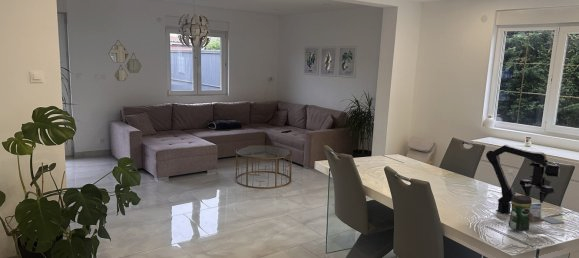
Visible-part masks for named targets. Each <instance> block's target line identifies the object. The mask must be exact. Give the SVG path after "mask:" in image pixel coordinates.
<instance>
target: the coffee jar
mask: <svg viewBox="0 0 579 258" xmlns="http://www.w3.org/2000/svg"><path fill="white" fill-rule="evenodd" d="M510 203H511V208H510V212H511V214H510V215H509V221H508V227H509V228H510V229H511V230H515V231H518V232H519V231H520V232H521V231H529V229H530V221H529V212H530V207H531V204H532V203H533V201H532V197H531V196H526V194H525V195H524V194H523V195H522V194H520V195H516V194H515V195H513V196H512V199H511V202H510Z"/></svg>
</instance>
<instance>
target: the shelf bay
mask: <svg viewBox="0 0 579 258" xmlns="http://www.w3.org/2000/svg"><path fill="white" fill-rule="evenodd" d="M532 215H533V214H532V213H529V223H530V222H539V221H541V222H542V221H543V218H544V217H541V218H533V219H532ZM543 222H544V221H543Z"/></svg>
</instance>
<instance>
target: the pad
mask: <svg viewBox="0 0 579 258" xmlns="http://www.w3.org/2000/svg"><path fill="white" fill-rule="evenodd" d="M542 218H543V222H547V223H549V224H551V225H555V224H557V225H558V224H565V221H562V220H559V219H557V218H555V217H542Z"/></svg>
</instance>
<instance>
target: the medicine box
mask: <svg viewBox="0 0 579 258" xmlns="http://www.w3.org/2000/svg"><path fill="white" fill-rule="evenodd" d="M529 213H532V214H533V215H532V219H533V218H542V203H540V202H532V204H531V207H530V212H529Z"/></svg>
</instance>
